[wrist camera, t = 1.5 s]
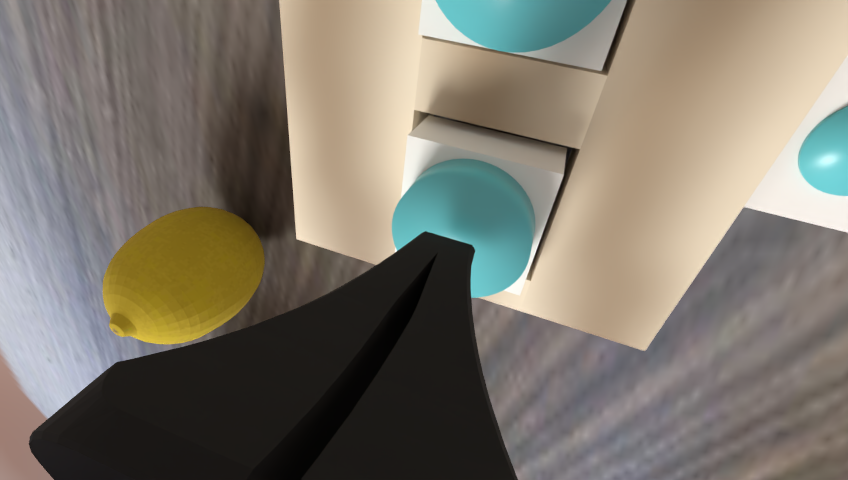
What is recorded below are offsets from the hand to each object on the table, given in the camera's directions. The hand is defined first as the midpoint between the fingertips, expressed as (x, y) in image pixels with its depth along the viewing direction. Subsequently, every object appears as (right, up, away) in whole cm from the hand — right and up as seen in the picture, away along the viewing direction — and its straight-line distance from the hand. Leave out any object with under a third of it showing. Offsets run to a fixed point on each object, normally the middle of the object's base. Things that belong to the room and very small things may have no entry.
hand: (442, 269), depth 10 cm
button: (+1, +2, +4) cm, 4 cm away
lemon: (-10, +1, +12) cm, 16 cm away
